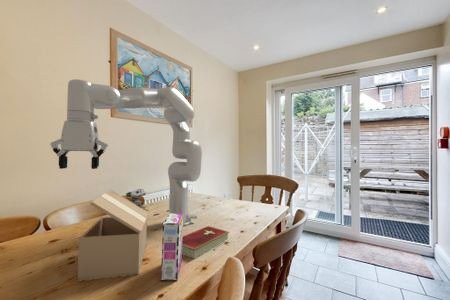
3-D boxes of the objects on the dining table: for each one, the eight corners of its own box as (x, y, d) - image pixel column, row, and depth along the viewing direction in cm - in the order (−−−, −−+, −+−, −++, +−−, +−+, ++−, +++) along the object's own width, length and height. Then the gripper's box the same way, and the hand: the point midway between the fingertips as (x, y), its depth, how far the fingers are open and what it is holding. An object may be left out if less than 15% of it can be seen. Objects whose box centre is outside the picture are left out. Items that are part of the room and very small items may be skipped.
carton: (146, 245, 84) (146, 214, 84) (138, 274, 64) (139, 234, 64) (100, 249, 80) (101, 217, 80) (77, 281, 60) (78, 238, 61)
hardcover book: (170, 251, 81) (171, 239, 81) (207, 234, 98) (207, 225, 98) (194, 261, 74) (194, 248, 74) (229, 241, 91) (229, 231, 91)
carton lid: (147, 214, 84) (148, 212, 84) (139, 233, 64) (141, 231, 65) (109, 191, 81) (111, 189, 81) (90, 204, 61) (92, 201, 61)
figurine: (149, 216, 122) (150, 189, 122) (130, 221, 113) (130, 192, 113) (140, 213, 128) (141, 187, 128) (121, 217, 118) (122, 190, 118)
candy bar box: (178, 281, 61) (179, 223, 61) (160, 281, 61) (161, 223, 61) (182, 261, 72) (183, 212, 73) (167, 261, 72) (168, 212, 72)
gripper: (112, 120, 78) (110, 168, 77) (59, 118, 75) (57, 167, 75) (103, 117, 70) (101, 169, 70) (44, 114, 68) (42, 169, 67)
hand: (79, 168), depth 72 cm, fingers open, 9 cm apart
